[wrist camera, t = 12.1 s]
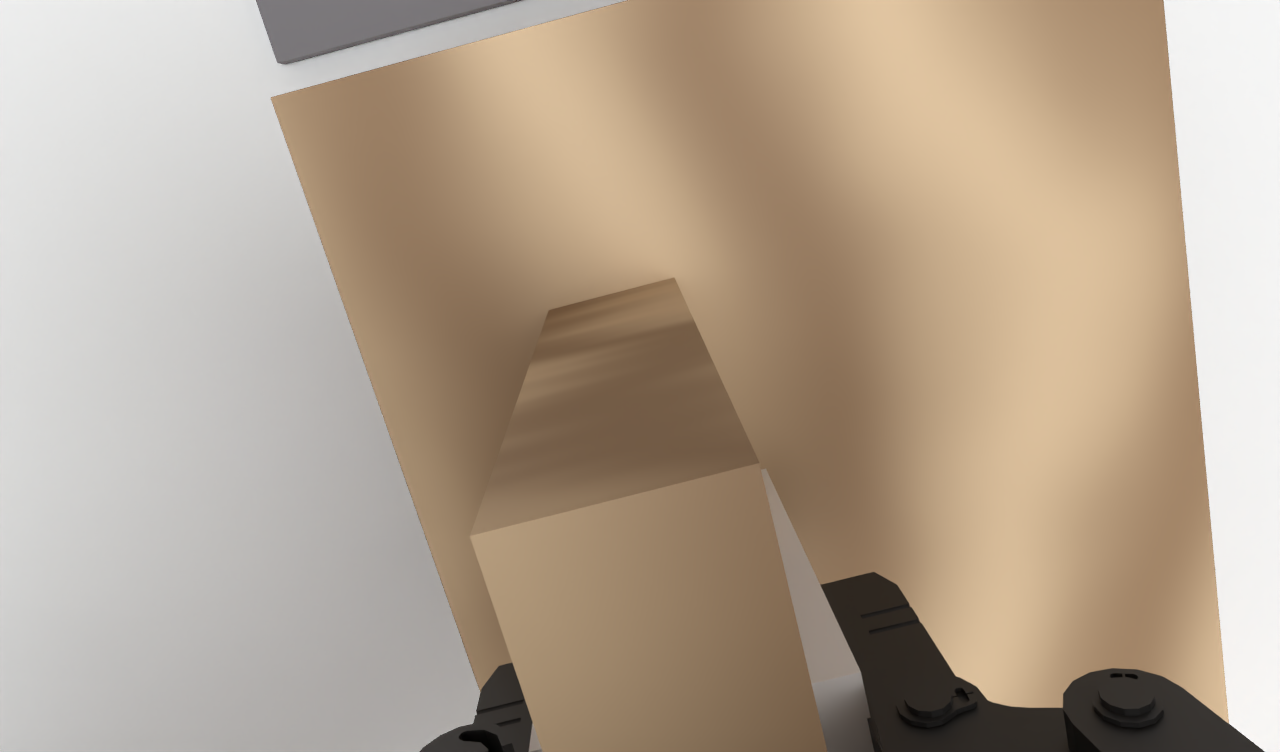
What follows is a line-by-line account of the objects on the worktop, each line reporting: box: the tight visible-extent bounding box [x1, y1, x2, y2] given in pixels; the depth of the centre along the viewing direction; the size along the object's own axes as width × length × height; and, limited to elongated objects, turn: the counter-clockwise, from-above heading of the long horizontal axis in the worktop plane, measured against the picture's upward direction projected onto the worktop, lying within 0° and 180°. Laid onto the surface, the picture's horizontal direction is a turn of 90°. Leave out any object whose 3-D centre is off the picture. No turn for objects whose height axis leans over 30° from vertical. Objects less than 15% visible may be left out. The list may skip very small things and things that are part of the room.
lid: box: [271, 0, 1229, 752], centre depth 15 cm, size 16×20×12 cm
